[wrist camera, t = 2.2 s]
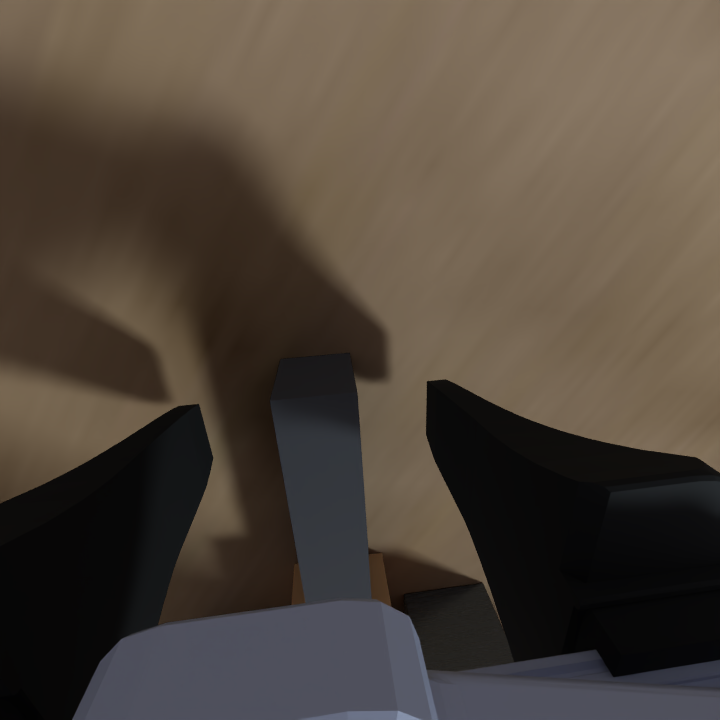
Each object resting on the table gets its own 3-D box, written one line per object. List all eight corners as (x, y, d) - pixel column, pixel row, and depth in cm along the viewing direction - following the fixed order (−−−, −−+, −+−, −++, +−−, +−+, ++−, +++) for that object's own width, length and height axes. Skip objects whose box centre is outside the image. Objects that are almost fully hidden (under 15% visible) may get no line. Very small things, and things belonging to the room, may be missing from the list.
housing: (483, 583, 18) (537, 709, 14) (479, 621, 20) (528, 749, 15) (196, 623, 17) (151, 773, 13) (210, 661, 19) (173, 811, 14)
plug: (257, 360, 13) (235, 415, 9) (371, 350, 13) (389, 399, 10) (307, 633, 19) (304, 725, 15) (385, 622, 19) (399, 710, 16)
